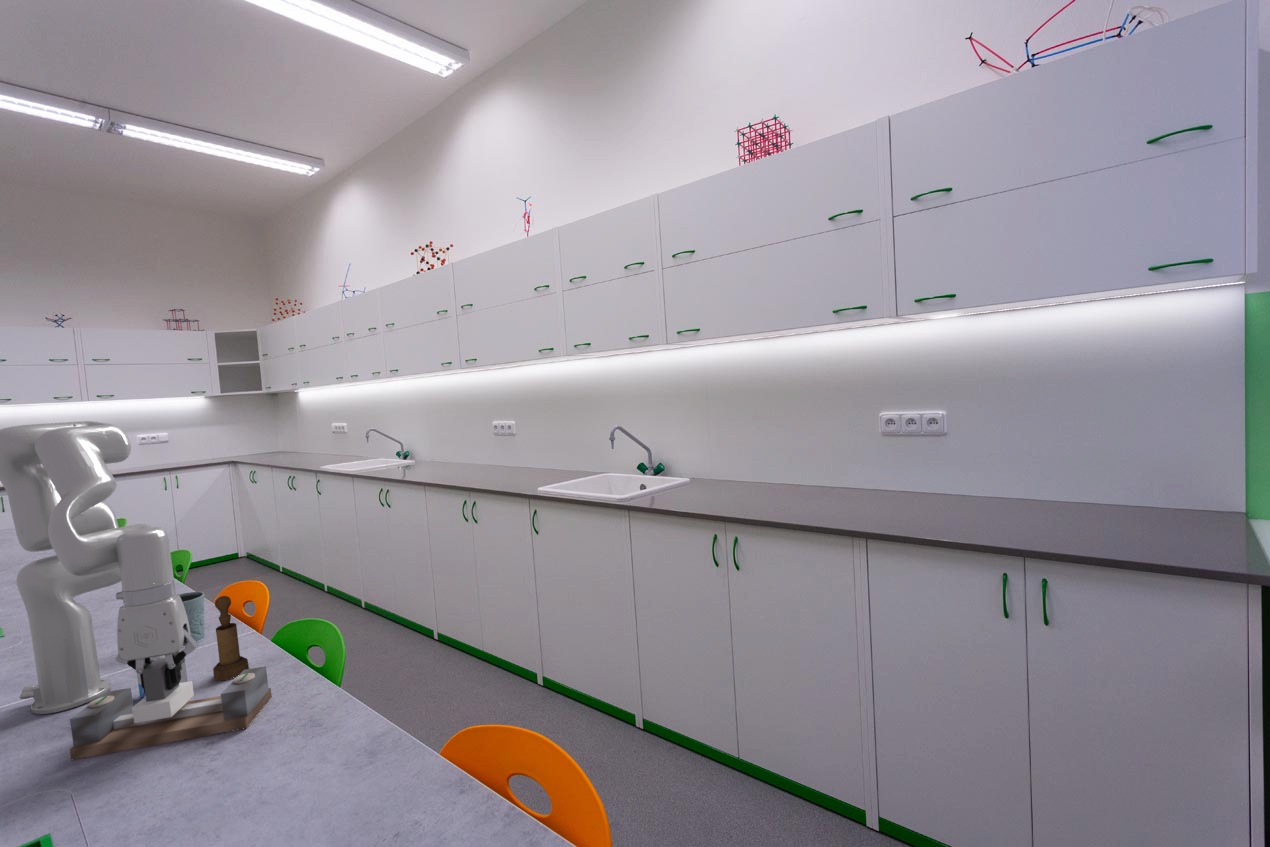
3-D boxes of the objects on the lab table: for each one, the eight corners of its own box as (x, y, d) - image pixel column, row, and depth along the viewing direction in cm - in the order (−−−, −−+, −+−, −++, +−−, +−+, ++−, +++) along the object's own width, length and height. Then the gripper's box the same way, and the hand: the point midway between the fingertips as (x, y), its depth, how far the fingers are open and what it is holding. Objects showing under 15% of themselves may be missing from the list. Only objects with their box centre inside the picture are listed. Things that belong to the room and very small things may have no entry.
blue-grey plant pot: (152, 648, 153) (146, 603, 153) (194, 632, 163) (188, 590, 162) (177, 652, 150) (171, 606, 149) (218, 635, 159) (212, 592, 158)
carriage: (134, 723, 108) (127, 675, 107) (159, 701, 116) (153, 656, 115) (171, 716, 109) (165, 669, 108) (194, 695, 117) (188, 651, 116)
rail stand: (71, 760, 104) (65, 718, 104) (115, 723, 116) (110, 686, 115) (246, 728, 110) (241, 689, 109) (271, 696, 122) (267, 661, 121)
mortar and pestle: (230, 681, 130) (221, 602, 129) (206, 680, 132) (196, 602, 131) (255, 667, 137) (246, 591, 136) (232, 666, 138) (223, 591, 137)
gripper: (85, 608, 105) (99, 706, 107) (188, 594, 109) (201, 689, 110) (112, 594, 113) (125, 687, 114) (208, 581, 116) (220, 671, 117)
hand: (162, 687), depth 112 cm, fingers closed on carriage, 3 cm apart
